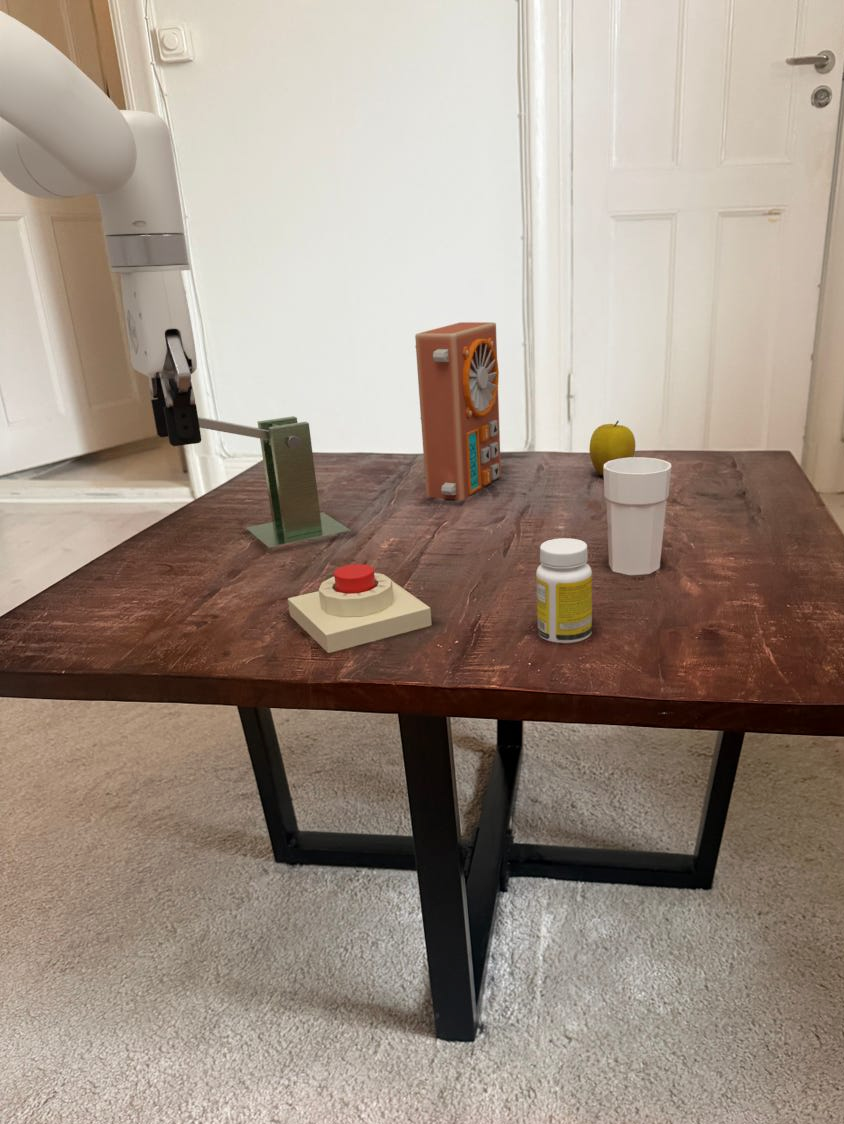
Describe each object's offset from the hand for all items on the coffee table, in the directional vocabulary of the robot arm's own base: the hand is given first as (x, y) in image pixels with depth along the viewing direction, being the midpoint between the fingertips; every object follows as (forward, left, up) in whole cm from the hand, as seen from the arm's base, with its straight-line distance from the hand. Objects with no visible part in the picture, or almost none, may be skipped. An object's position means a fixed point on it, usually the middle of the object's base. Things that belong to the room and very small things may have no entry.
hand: (179, 437), depth 96 cm
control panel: (+37, +4, -14) cm, 39 cm away
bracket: (+12, 0, -14) cm, 18 cm away
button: (+8, -28, -10) cm, 31 cm away
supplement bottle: (+22, -41, -14) cm, 48 cm away
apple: (+58, -1, -14) cm, 59 cm away
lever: (+6, 0, -1) cm, 6 cm away
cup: (+37, -32, -14) cm, 51 cm away
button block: (+8, -28, -14) cm, 32 cm away
